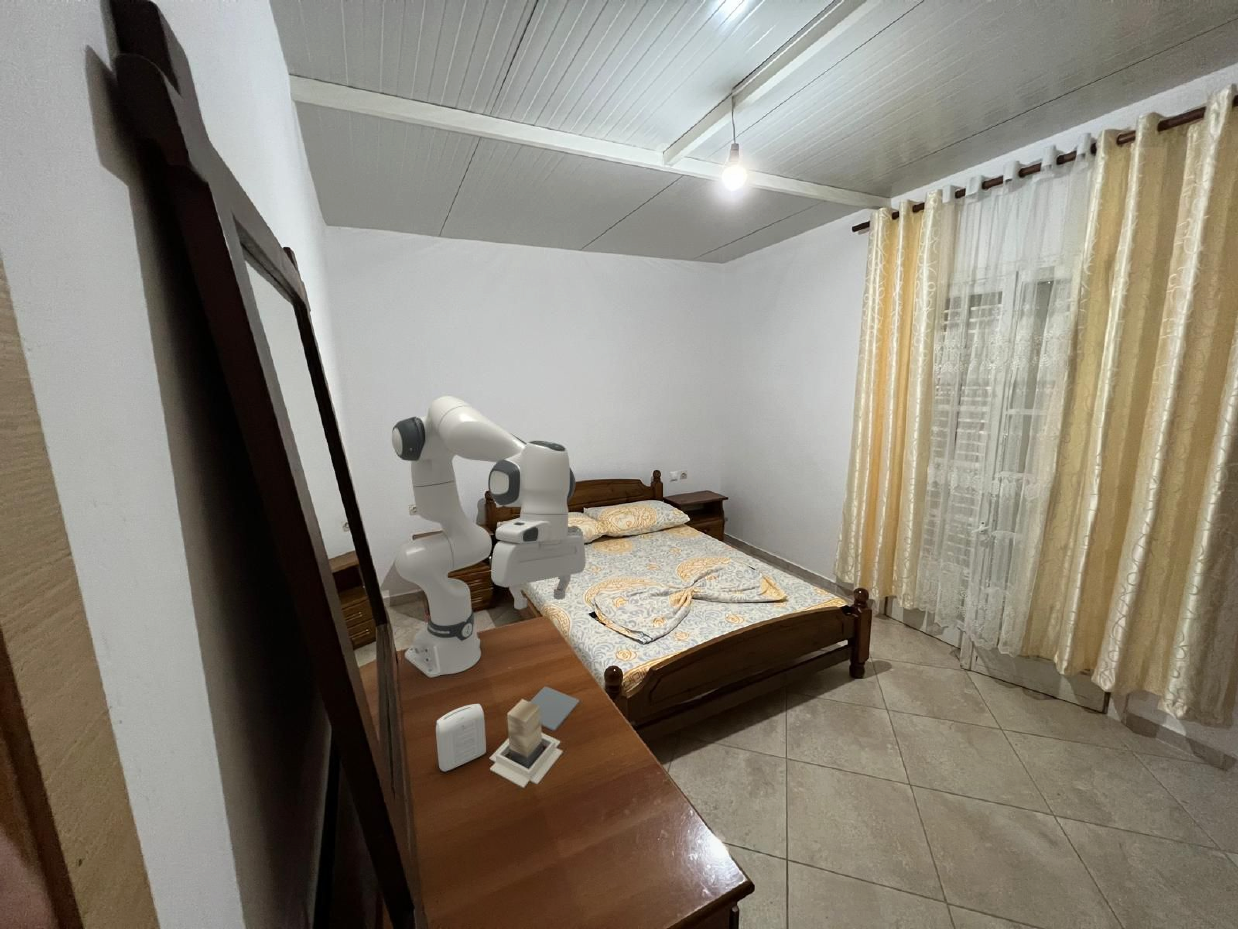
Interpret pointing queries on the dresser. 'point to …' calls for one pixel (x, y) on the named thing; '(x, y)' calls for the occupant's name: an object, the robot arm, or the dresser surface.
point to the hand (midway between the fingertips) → (540, 603)
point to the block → (525, 733)
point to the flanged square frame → (521, 773)
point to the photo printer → (460, 736)
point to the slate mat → (554, 707)
